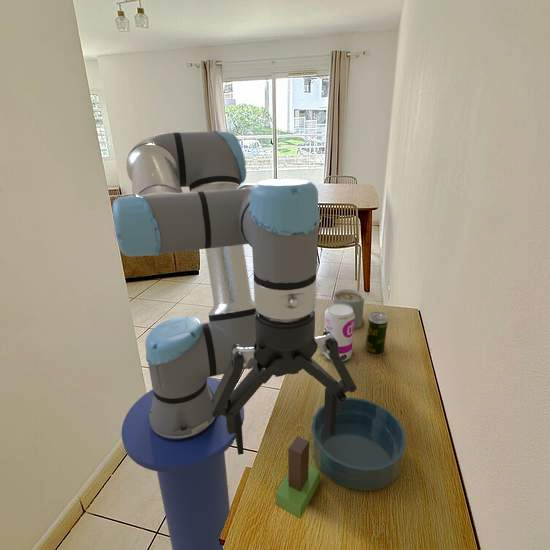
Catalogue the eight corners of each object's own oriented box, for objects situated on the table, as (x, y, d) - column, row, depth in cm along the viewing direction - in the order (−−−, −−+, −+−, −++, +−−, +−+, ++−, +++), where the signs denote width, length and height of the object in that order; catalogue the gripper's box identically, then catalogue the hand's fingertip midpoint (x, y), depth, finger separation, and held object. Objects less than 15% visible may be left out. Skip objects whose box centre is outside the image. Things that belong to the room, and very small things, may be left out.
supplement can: (356, 354, 104) (361, 309, 99) (339, 366, 99) (343, 319, 93) (334, 343, 110) (337, 300, 104) (317, 354, 105) (319, 309, 99)
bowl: (295, 465, 70) (296, 443, 68) (331, 407, 85) (332, 387, 82) (388, 511, 62) (392, 487, 59) (410, 438, 76) (414, 417, 74)
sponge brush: (300, 519, 61) (301, 469, 56) (275, 505, 63) (274, 455, 58) (319, 482, 67) (322, 434, 62) (296, 470, 69) (296, 423, 65)
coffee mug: (336, 312, 128) (337, 287, 124) (364, 317, 125) (366, 291, 121) (326, 330, 117) (327, 303, 113) (357, 336, 113) (359, 309, 109)
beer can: (372, 344, 109) (376, 309, 105) (387, 351, 105) (392, 316, 101) (361, 350, 106) (364, 315, 102) (376, 358, 102) (380, 322, 98)
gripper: (181, 339, 38) (200, 478, 46) (391, 310, 43) (375, 440, 51) (181, 307, 45) (198, 434, 53) (363, 286, 50) (353, 404, 58)
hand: (285, 437), depth 52 cm, fingers open, 13 cm apart
